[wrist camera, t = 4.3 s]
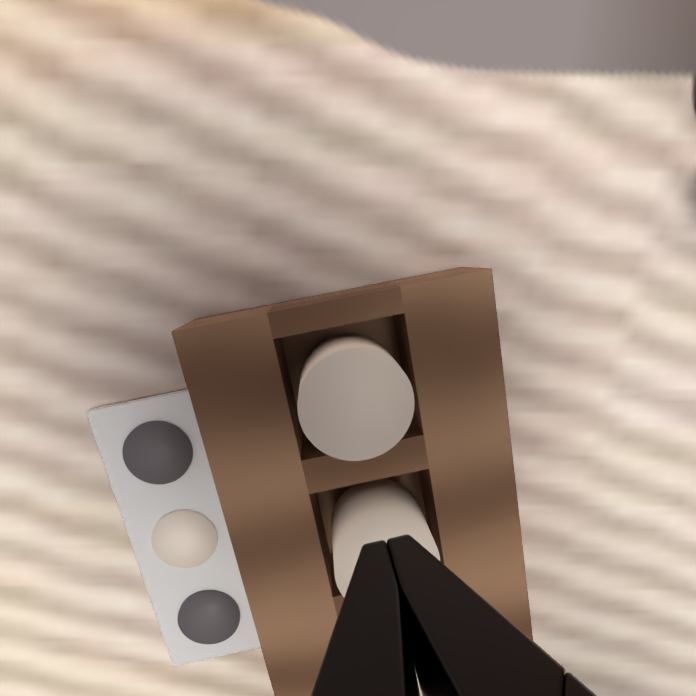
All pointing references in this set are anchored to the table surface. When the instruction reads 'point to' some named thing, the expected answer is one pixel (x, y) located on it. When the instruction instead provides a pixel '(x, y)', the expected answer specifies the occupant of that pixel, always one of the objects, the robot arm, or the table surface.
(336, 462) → the button board
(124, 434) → the card
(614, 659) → the table surface
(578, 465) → the table surface
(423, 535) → the button middle
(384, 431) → the button
